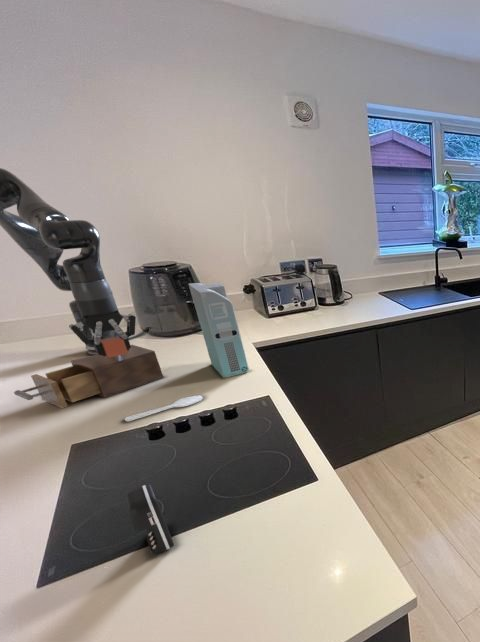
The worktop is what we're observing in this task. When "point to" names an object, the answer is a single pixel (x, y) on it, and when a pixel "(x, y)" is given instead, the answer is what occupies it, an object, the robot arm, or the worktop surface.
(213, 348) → the device
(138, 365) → the cabinet
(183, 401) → the spoon
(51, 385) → the drawer
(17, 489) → the worktop surface
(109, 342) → the block
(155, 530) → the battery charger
